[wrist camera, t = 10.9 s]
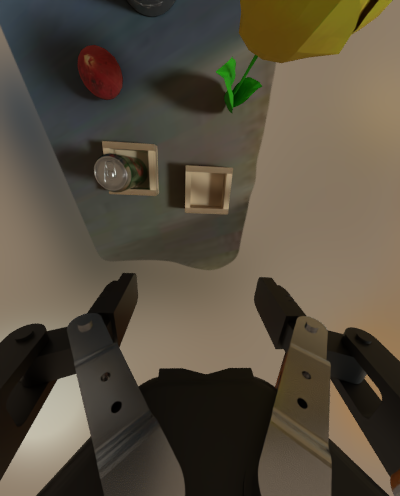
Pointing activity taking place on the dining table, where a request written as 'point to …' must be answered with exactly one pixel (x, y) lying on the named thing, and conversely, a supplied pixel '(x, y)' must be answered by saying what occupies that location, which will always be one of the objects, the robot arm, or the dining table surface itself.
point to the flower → (294, 33)
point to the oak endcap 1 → (143, 153)
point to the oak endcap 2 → (207, 189)
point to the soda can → (119, 172)
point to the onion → (100, 72)
